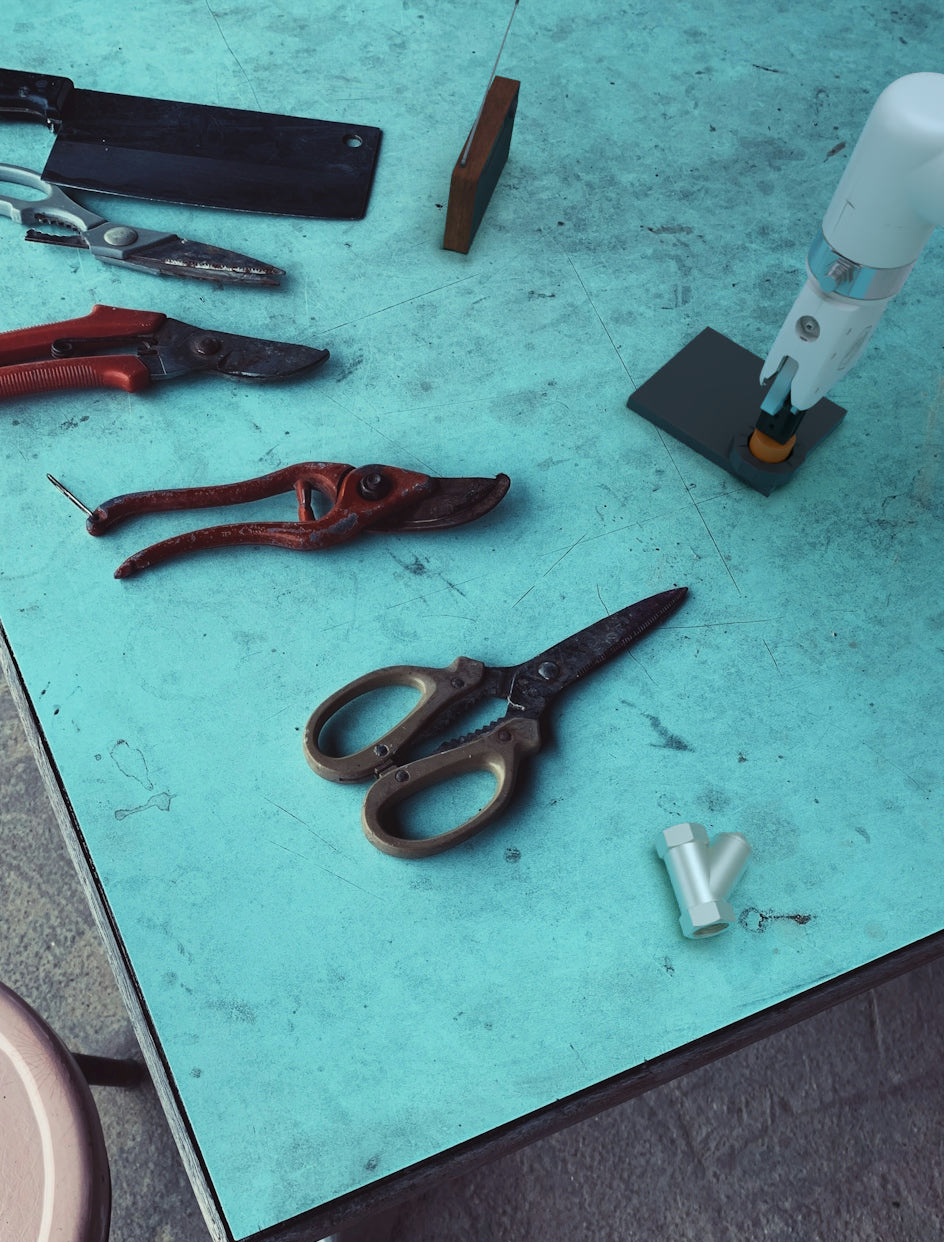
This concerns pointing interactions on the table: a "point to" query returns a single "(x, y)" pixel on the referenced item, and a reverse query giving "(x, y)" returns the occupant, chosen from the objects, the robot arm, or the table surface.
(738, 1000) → the table surface
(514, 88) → the radio
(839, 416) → the scale
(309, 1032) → the table surface
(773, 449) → the button
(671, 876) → the pipe fitting
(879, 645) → the table surface
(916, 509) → the table surface
